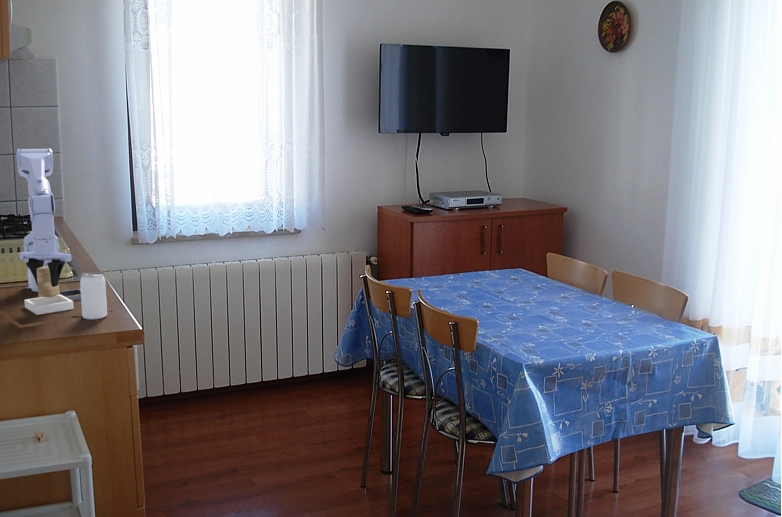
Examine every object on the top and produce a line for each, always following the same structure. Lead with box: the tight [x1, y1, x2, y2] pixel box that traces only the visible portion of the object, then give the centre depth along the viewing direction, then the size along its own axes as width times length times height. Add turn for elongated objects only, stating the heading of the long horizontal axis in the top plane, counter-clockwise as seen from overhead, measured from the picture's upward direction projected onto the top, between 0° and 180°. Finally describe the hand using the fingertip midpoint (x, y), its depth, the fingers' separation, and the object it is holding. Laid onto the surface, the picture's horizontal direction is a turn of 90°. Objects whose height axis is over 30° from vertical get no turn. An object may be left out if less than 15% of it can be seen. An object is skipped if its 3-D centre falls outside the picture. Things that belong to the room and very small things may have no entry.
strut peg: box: [37, 266, 60, 298], centre depth 224 cm, size 4×4×8 cm
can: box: [79, 271, 108, 321], centre depth 219 cm, size 6×6×12 cm
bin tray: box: [24, 294, 75, 315], centre depth 225 cm, size 10×10×3 cm
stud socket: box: [59, 288, 81, 302], centre depth 237 cm, size 9×9×2 cm
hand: (47, 285), depth 224 cm, fingers closed on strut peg, 4 cm apart
